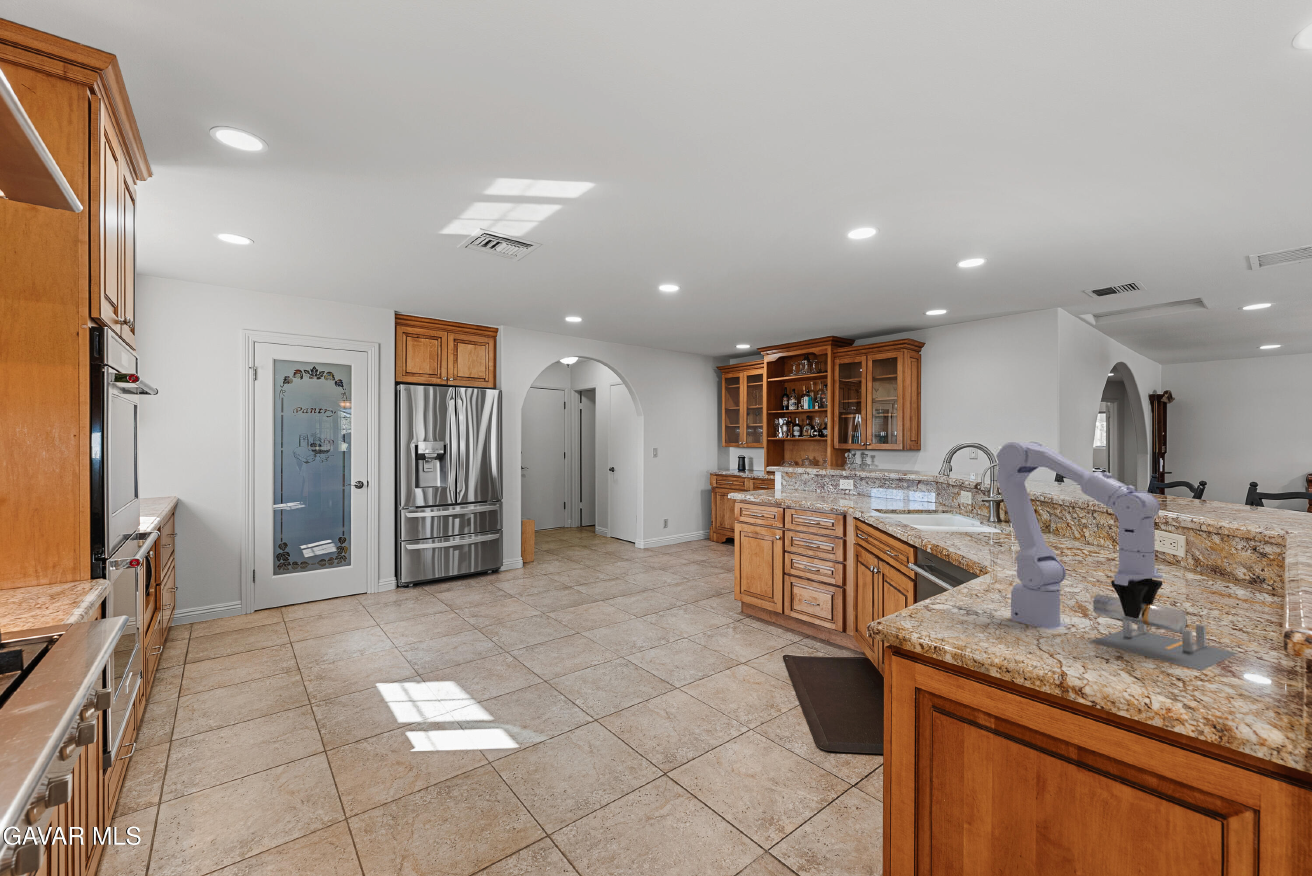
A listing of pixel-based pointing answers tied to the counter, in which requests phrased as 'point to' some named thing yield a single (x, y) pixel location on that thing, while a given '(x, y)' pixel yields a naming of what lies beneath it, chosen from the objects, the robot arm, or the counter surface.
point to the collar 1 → (1128, 630)
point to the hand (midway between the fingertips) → (1137, 615)
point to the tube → (1142, 613)
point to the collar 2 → (1188, 639)
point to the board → (1165, 649)
